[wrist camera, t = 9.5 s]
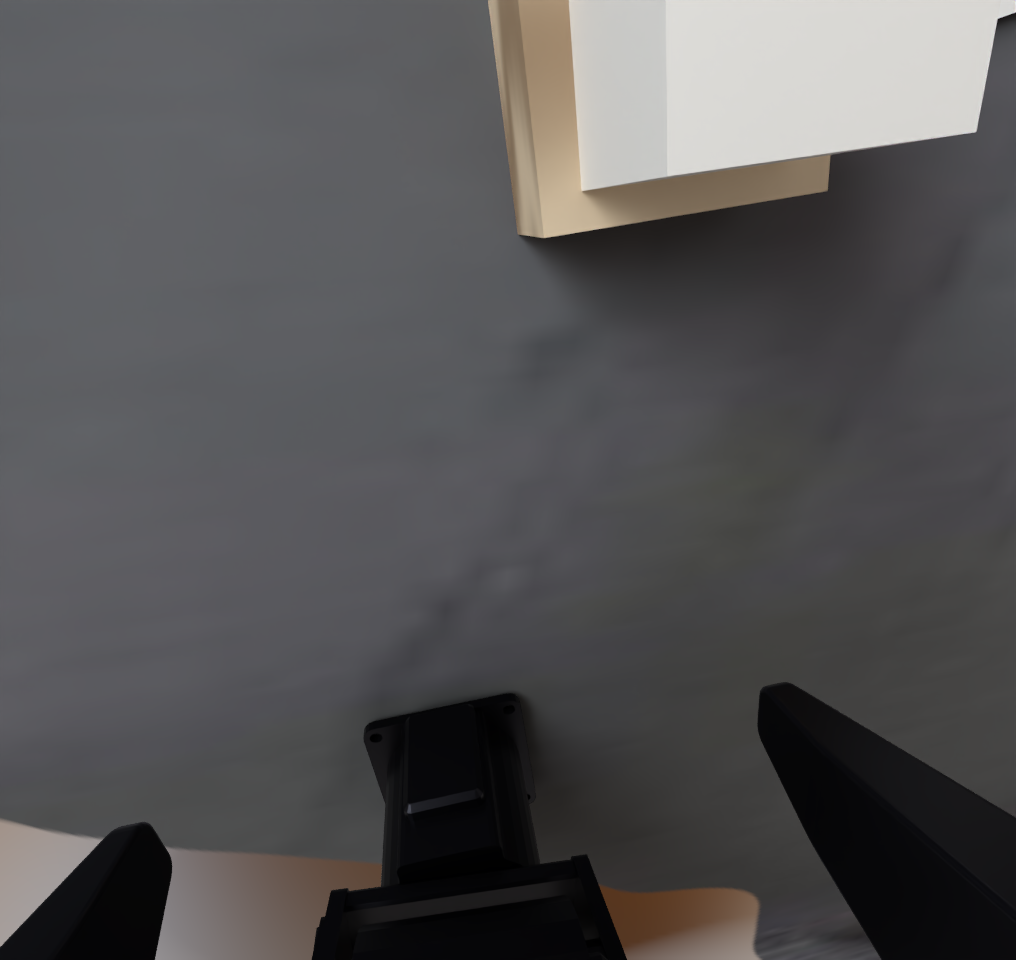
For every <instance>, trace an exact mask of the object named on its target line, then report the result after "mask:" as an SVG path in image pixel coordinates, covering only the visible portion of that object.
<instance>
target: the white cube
mask: <svg viewBox="0 0 1016 960" xmlns="http://www.w3.org/2000/svg"><path fill="white" fill-rule="evenodd" d="M1000 3H1001V0H569V12H570V27H571V42H572V57H573V72H574V86H575V101H576V116H577V131H578V146H579V160H580V175H581V190H582V191H586V190H593V189H600V188H607V187H614V186H621V185H628V184H635V183H642V182H649V181H656V180H663V179H670V178H677V177H684V176H691V175H697V174H704V173H711V172H718V171H725V170H732V169H739V168H746V167H753V166H760V165H767V164H774V163H781V162H788V161H794V160H801V159H807V158H813V157H820V156H826V155H833V154H839V153H845V152H852V151H858V150H865V149H871V148H877V147H884V146H890V145H897V144H903V143H909V142H916V141H922V140H929V139H935V138H941V137H948V136H954V135H960V134H967V133H973V132H976V130H977V125H978V120H979V114H980V109H981V104H982V98H983V93H984V88H985V83H986V77H987V72H988V67H989V61H990V56H991V51H992V46H993V40H994V35H995V30H996V25H997V19H998V14H999V9H1000Z"/></svg>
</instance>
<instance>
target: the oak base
mask: <svg viewBox="0 0 1016 960" xmlns="http://www.w3.org/2000/svg"><path fill="white" fill-rule="evenodd" d="M488 3H489V11H490V19H491V27H492V35H493V43H494V50H495V58H496V66H497V74H498V82H499V90H500V97H501V105H502V113H503V121H504V129H505V137H506V144H507V152H508V160H509V168H510V176H511V184H512V191H513V199H514V207H515V215H516V223H517V231H518V234H519V235H526V236H533V237H540V238H548V237H554V236H560V235H566V234H572V233H578V232H584V231H590V230H596V229H602V228H608V227H614V226H620V225H626V224H632V223H638V222H644V221H650V220H656V219H662V218H668V217H674V216H680V215H686V214H692V213H698V212H704V211H710V210H716V209H722V208H728V207H734V206H740V205H746V204H752V203H758V202H764V201H770V200H776V199H783V198H789V197H795V196H801V195H807V194H813V193H819V192H825V191H828V179H829V167H830V156H831V155H826V156H820V157H813V158H807V159H801V160H794V161H788V162H781V163H774V164H767V165H760V166H753V167H746V168H739V169H732V170H725V171H718V172H711V173H704V174H697V175H691V176H684V177H677V178H670V179H663V180H656V181H649V182H642V183H635V184H628V185H621V186H614V187H607V188H600V189H593V190H586V191H582V190H581V175H580V160H579V146H578V131H577V116H576V101H575V86H574V72H573V57H572V42H571V27H570V12H569V0H488Z"/></svg>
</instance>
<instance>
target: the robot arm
mask: <svg viewBox="0 0 1016 960" xmlns="http://www.w3.org/2000/svg"><path fill="white" fill-rule="evenodd" d="M507 705H512V706H510V707H505V706H507ZM757 724H758V732H759V736H760V739H761V741H762V743H763V746H764V748H765V750H766V752H767V754H768V756H769V758H770V760H771V762H772V764H773V766H774V768H775V770H776V772H777V774H778V776H779V778H780V781H781V783H782V785H783V787H784V789H785V791H786V793H787V795H788V797H789V799H790V801H791V803H792V805H793V807H794V809H795V811H796V813H797V816H798V818H799V820H800V822H801V824H802V826H803V828H804V830H805V832H806V834H807V836H808V838H809V840H810V841H811V843H812V845H813V847H814V849H815V850H816V852H817V854H818V856H819V857H820V859H821V861H822V863H823V864H824V866H825V868H826V869H827V871H828V872H829V874H830V876H831V877H832V879H833V881H834V882H835V884H836V886H837V887H838V889H839V891H840V892H841V894H842V896H843V897H844V899H845V900H846V902H847V904H848V905H849V907H850V909H851V910H852V912H853V914H854V915H855V917H856V919H857V920H858V922H859V923H860V925H861V927H862V928H863V930H864V932H865V933H866V935H867V937H868V938H869V940H870V942H871V943H872V945H873V947H874V948H875V950H876V951H877V953H878V955H879V956H880V958H881V960H1016V818H1015V817H1014V816H1012V815H1010V814H1009V813H1007V812H1005V811H1004V810H1002V809H1000V808H999V807H997V806H995V805H994V804H992V803H990V802H989V801H987V800H985V799H984V798H982V797H980V796H979V795H977V794H975V793H974V792H972V791H970V790H969V789H967V788H965V787H964V786H962V785H960V784H959V783H957V782H955V781H954V780H952V779H950V778H949V777H947V776H945V775H944V774H942V773H940V772H939V771H937V770H935V769H934V768H932V767H930V766H929V765H927V764H925V763H924V762H922V761H920V760H919V759H917V758H915V757H914V756H912V755H910V754H909V753H907V752H905V751H904V750H902V749H900V748H899V747H897V746H895V745H894V744H892V743H890V742H889V741H887V740H885V739H884V738H882V737H880V736H879V735H877V734H875V733H874V732H872V731H870V730H869V729H867V728H865V727H864V726H862V725H860V724H859V723H857V722H855V721H854V720H852V719H850V718H849V717H847V716H845V715H844V714H842V713H840V712H839V711H837V710H835V709H834V708H832V707H830V706H829V705H827V704H825V703H824V702H822V701H820V700H819V699H817V698H815V697H813V696H812V695H810V694H808V693H807V692H805V691H803V690H802V689H800V688H798V687H797V686H795V685H793V684H791V683H788V682H782V683H777V684H773V685H768V686H765V687H763V688H762V689H761V691H760V695H759V709H758V723H757ZM374 734H379V735H374ZM364 743H365V746H366V749H367V752H368V755H369V757H370V760H371V763H372V766H373V769H374V772H375V775H376V778H377V781H378V784H379V787H380V790H381V793H382V795H383V798H384V801H385V822H384V840H383V858H382V876H381V887H375V888H368V889H361V890H354V891H349V890H348V888H346V889H338V890H332V891H331V893H330V897H329V902H328V907H327V911H326V916H325V917H321V920H320V925H319V927H318V928H317V930H316V937H315V944H314V951H313V956H312V960H627V958H626V956H625V953H624V950H623V948H622V945H621V942H620V940H619V937H618V935H617V932H616V930H615V927H614V924H613V922H612V919H611V916H610V914H609V911H608V908H607V906H606V903H605V901H604V898H603V895H602V893H601V890H600V887H599V885H598V882H597V880H596V877H595V874H594V872H593V869H592V866H591V864H590V861H589V859H588V856H587V855H579V856H572V857H571V860H565V861H558V862H551V863H544V864H540V860H539V854H538V849H537V844H536V839H535V833H534V828H533V823H532V818H531V812H530V807H529V804H530V803H532V802H533V801H534V800H535V798H536V793H535V787H534V782H533V776H532V770H531V764H530V758H529V752H528V746H527V741H526V735H525V729H524V723H523V717H522V711H521V706H520V701H519V698H518V697H517V696H516V695H515V694H511V693H509V694H502V695H497V696H493V697H488V698H483V699H478V700H474V701H469V702H464V703H460V704H455V705H450V706H445V707H441V708H436V709H431V710H426V711H422V712H417V713H412V714H407V715H403V716H398V717H393V718H389V719H384V720H379V721H374V722H371V723H369V724H368V725H367V726H366V727H365V729H364ZM171 874H172V861H171V857H170V855H169V853H168V851H167V850H166V848H165V846H164V845H163V843H162V841H161V840H160V838H159V837H158V835H157V833H156V832H155V830H154V829H153V827H152V826H151V825H150V824H149V823H146V822H140V823H135V824H130V825H126V826H121V827H118V828H116V829H114V830H113V831H111V832H110V833H109V834H108V835H107V836H106V837H105V838H104V839H103V840H102V841H101V842H100V843H99V844H98V845H97V846H96V847H95V849H94V850H93V851H92V852H91V853H90V854H89V855H88V856H87V857H86V858H85V859H84V860H83V861H82V862H81V863H80V864H79V865H78V866H77V867H76V868H75V869H74V870H73V872H72V873H71V874H70V875H69V876H68V877H67V878H66V879H65V880H64V881H63V882H62V883H61V884H60V885H59V886H58V887H57V888H56V889H55V891H54V892H52V893H51V895H50V896H49V897H48V898H47V899H46V900H45V901H44V902H43V903H42V904H41V905H40V906H39V907H38V908H37V909H36V910H35V911H34V912H33V913H32V914H31V915H30V917H29V918H28V919H27V920H26V921H25V922H24V923H23V924H22V925H21V926H20V927H19V928H18V929H17V930H16V931H15V932H14V933H13V934H12V935H11V936H10V937H9V939H8V940H7V941H6V942H5V943H4V944H3V945H2V946H1V947H0V960H155V956H156V951H157V945H158V940H159V936H160V930H161V925H162V920H163V916H164V910H165V906H166V900H167V895H168V891H169V886H170V881H171Z"/></svg>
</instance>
